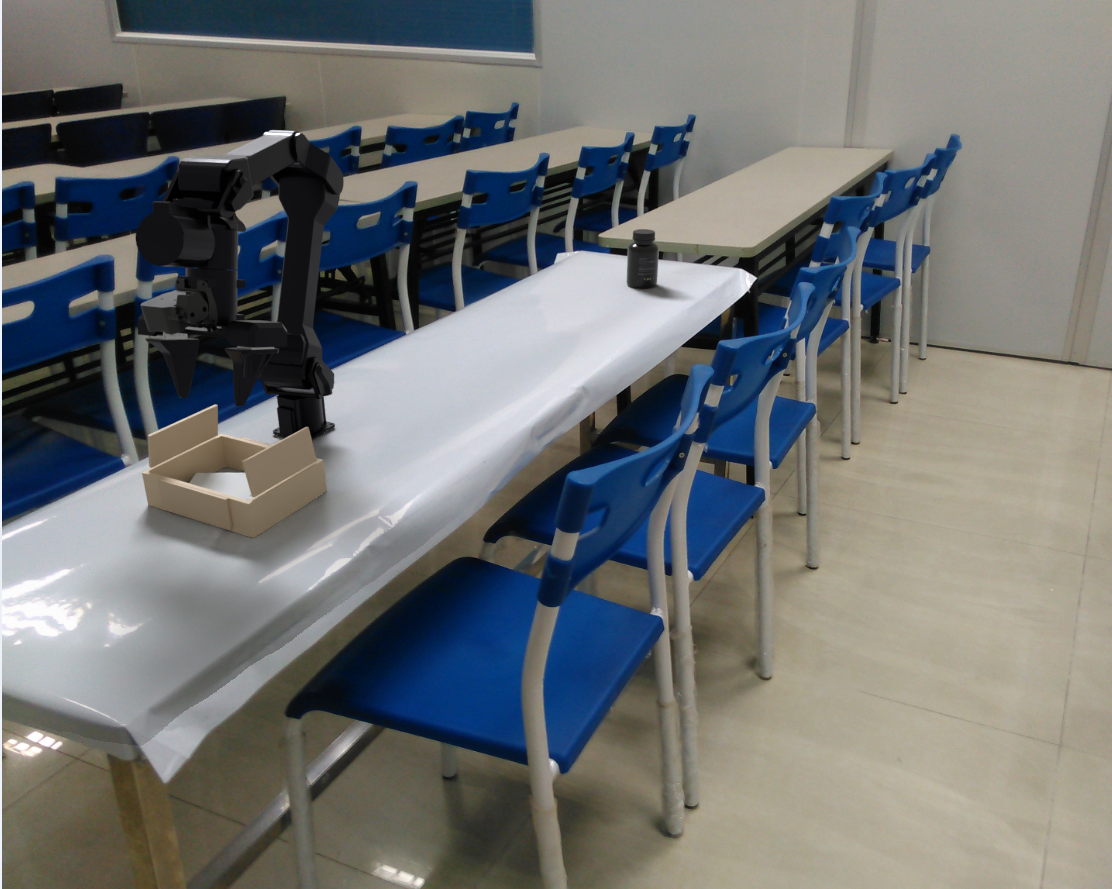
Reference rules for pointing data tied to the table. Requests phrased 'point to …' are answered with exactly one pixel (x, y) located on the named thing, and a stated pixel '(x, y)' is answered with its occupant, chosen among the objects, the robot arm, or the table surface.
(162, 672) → the table surface
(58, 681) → the table surface
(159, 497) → the carton
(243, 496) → the external hard drive
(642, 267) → the supplement bottle
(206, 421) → the flap
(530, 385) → the table surface
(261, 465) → the flap
